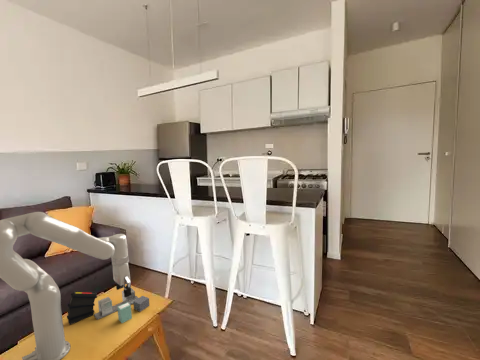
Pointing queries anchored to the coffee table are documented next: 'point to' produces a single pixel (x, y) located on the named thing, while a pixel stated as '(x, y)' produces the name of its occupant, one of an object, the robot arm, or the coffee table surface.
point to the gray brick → (141, 303)
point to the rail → (107, 307)
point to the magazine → (80, 306)
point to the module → (124, 312)
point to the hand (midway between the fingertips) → (123, 292)
